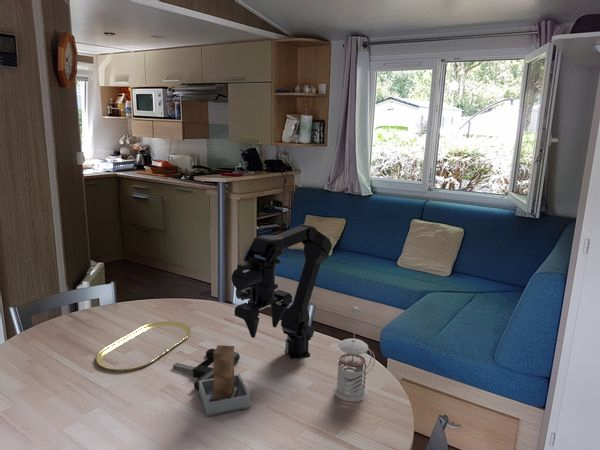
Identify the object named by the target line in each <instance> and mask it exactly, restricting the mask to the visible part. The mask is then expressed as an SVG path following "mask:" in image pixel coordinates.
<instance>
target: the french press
mask: <svg viewBox="0 0 600 450" xmlns="http://www.w3.org/2000/svg"><path fill="white" fill-rule="evenodd" d="M351 311H352V312H353V313H354V321H357V319H356V318H357V317H356V316H357V314H358V313H359V312H360V309H359V307H357V306H354V307H353V308H352V309H351ZM353 329H354V330H353V338H345V339H343V340H341V341H340V342H338V347H339V349H340V351H342V352H344V354H341V355H340V356H339V361H338V366H337V380H336V381H337V382H336V384H335V386H333V389H332V392H333V395H334V396H336V397H337V398H338V399H341V400H343V401H345V402H353V403H354V402H361V401H363V400H365V399H367V397H368V396H369V391H368V389H367V388H366V376H367V374H369V373H370V372H371V371H372V370H373V367H374V366H375V363H376V361H375V360H376V356H375V353H374V352H373V351H372V350H371V349H370V348H369V345H368V344H367V343H366V342H364V341H363V340H361V339H359V338H355V337H356V336H355V335H356V334H355V333H356V324H354V326H353ZM368 351H369V353H370V360H369V362H368V365H367V364H366V358H365V357H364V356H362V354H365V355H367V354H368ZM372 355H373V356H372ZM372 359H373V363H372ZM371 363H372V366H371V368H370V369H369V370H368V371H367V369H368V368H369V367H370V364H371ZM344 367H345V368H344ZM349 370H351V371H349Z"/></svg>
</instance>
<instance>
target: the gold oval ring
mask: <svg viewBox="0 0 600 450" xmlns="http://www.w3.org/2000/svg"><path fill="white" fill-rule="evenodd" d="M159 327H175V328H180V329H182V330H183V331H185V334H186V335H185V337H184V338H183V339H181V340H180V341H179V342H177V343H175V344H174V345H173V346H172V347H170V348H168V349H166V351H164V352H162V353H161V354H159V356H158V355H157V357H155V358H154V359H152V360H151V361H149V362H147V363H145V364H142V365H139V366H135V367H129V368H111V367H107V366H105V364H104V363H103V359H104V358H105V356H106V355H107V354H109V353H111V352H112V351H114V350H115V349H117V348H119V347H120V346H122V345H123V344H126V343H127V342H129V341H130V340H132V339H134V338H135V337H138V336H139V335H141V334H143V333H144V332H146V331H148V330H151V329H155V328H159ZM191 333H192V330H191V327H190V326H189V325H188V324H185V323H183V322H180V321H171V320H167V321H165V320H164V321H156V322H152V323H147V324H145V325H143V326H141V327H139V328H137V329H136V330H134V331H131V332H130V333H129V334H126V335H125V336H124V337H121V338H119V339H118V340H115V342H113V343H111V344H109V345H108V346H106V347H104V348H103V349H102V350H100V351H99V352H98V353H97V355H96V359H95V361H96V363H97V364H98V365H99V367H101V368H102V369H105V370H108V371H113V372H130V371H135V370H139V369H143V368H145V367H147V366H149V365H151V364H152V363H154V362H156V361H157V360H159V358H161V357H163V356H164V355H166V354H167V353H168V352H170V351H172V349H174V348H176V347H177V346H178V345H180V344H181V343H182V342H184V341H186V340H187V339H188V338H189V336H190V335H191Z"/></svg>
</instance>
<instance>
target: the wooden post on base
mask: <svg viewBox="0 0 600 450" xmlns="http://www.w3.org/2000/svg"><path fill="white" fill-rule="evenodd" d="M214 349H215V351H214V362H213V367H214V391H213V393H212V396H211V398H210V402H213V401H219V400H224V399H229V398H234V397H236V396H237V393H238V388H237V387H234V375H235V364H234V352H235V346H234V345H223V344H222V345H219V344H218V345H216V347H215V348H214Z"/></svg>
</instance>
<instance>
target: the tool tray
mask: <svg viewBox="0 0 600 450" xmlns="http://www.w3.org/2000/svg"><path fill="white" fill-rule="evenodd" d="M234 387H237V388H238V393H237V396H236V397H234V398H229V399H224V400H219V401H213V402H210V398H211V396H212V393H213V391H214V378H213V379H207V380H201V381H199V390H198V394H199V397H200V401H201V404H202V406H203V407H202V408H203V409H204V413H205V416H206V417H207V418H208V417H213V416H214V417H215V416H219V415H224V414H229V413H234V412H239V411H243V410H249V409H251V394H250V392H249V389H247V387H246V384H245V383H244V381H243V379H242V375H240V373H238V374H237V373H236V374H234Z"/></svg>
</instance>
